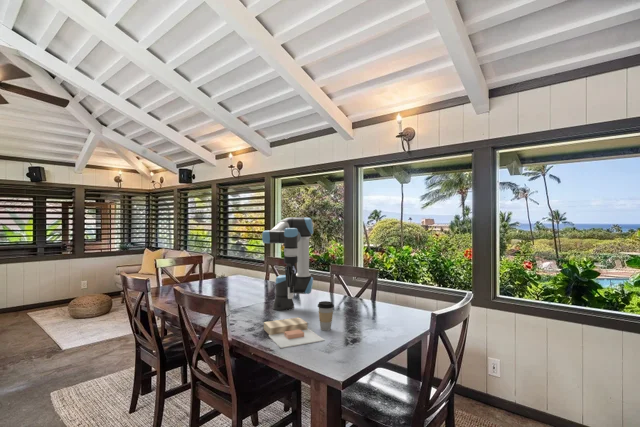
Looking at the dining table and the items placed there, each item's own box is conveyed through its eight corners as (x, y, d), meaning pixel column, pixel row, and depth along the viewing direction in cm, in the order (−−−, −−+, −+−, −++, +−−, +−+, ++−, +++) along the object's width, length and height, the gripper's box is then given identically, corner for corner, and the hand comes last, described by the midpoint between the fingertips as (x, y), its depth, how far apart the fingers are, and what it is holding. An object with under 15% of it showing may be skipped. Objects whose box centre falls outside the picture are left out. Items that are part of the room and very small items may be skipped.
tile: (304, 332, 172) (304, 336, 172) (299, 329, 177) (299, 333, 177) (288, 335, 168) (288, 339, 168) (284, 331, 174) (284, 335, 173)
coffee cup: (336, 328, 188) (336, 302, 188) (328, 333, 179) (328, 305, 180) (322, 325, 192) (322, 300, 193) (314, 330, 184) (314, 303, 185)
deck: (299, 324, 195) (299, 317, 195) (307, 330, 184) (307, 322, 184) (263, 329, 185) (263, 322, 185) (270, 335, 174) (270, 328, 174)
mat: (309, 329, 184) (309, 328, 184) (324, 340, 168) (324, 339, 168) (268, 336, 174) (268, 335, 174) (280, 348, 157) (280, 347, 157)
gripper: (280, 254, 184) (280, 296, 184) (288, 257, 172) (288, 301, 172) (292, 254, 187) (292, 295, 187) (301, 256, 176) (301, 300, 176)
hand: (290, 298), depth 180 cm, fingers closed
